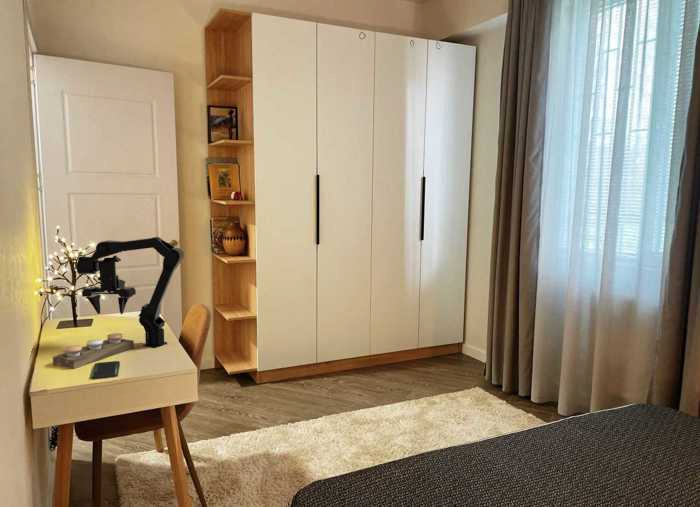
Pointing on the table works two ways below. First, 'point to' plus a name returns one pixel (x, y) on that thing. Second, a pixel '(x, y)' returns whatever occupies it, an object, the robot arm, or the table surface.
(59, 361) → the knob mount
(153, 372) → the table surface
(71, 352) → the knob
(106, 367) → the phone
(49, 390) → the table surface
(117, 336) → the knob
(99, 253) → the robot arm
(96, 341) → the middle knob
